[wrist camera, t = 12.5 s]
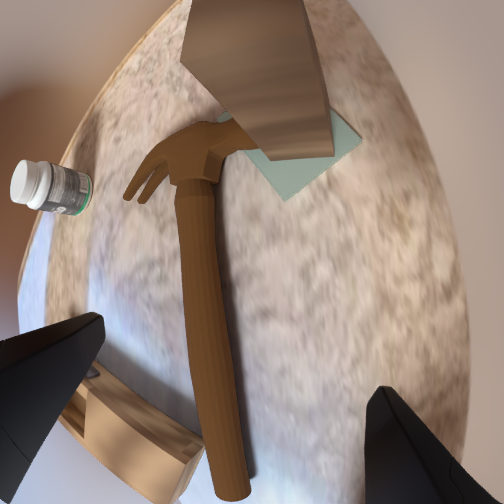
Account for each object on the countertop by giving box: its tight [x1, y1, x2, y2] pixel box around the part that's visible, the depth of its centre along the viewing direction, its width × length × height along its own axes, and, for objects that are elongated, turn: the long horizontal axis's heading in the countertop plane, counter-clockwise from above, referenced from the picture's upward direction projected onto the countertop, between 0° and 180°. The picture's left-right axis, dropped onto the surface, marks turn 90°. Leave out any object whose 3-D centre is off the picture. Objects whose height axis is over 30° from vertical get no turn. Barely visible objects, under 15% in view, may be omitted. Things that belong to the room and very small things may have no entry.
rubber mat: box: [217, 108, 362, 202], centre depth 20 cm, size 9×7×1 cm
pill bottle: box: [10, 160, 92, 216], centre depth 23 cm, size 5×5×8 cm
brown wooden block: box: [180, 0, 335, 161], centre depth 14 cm, size 4×4×12 cm
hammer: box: [123, 117, 260, 502], centre depth 20 cm, size 12×3×30 cm
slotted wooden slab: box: [58, 359, 205, 504], centre depth 22 cm, size 18×9×4 cm, turn 68°
